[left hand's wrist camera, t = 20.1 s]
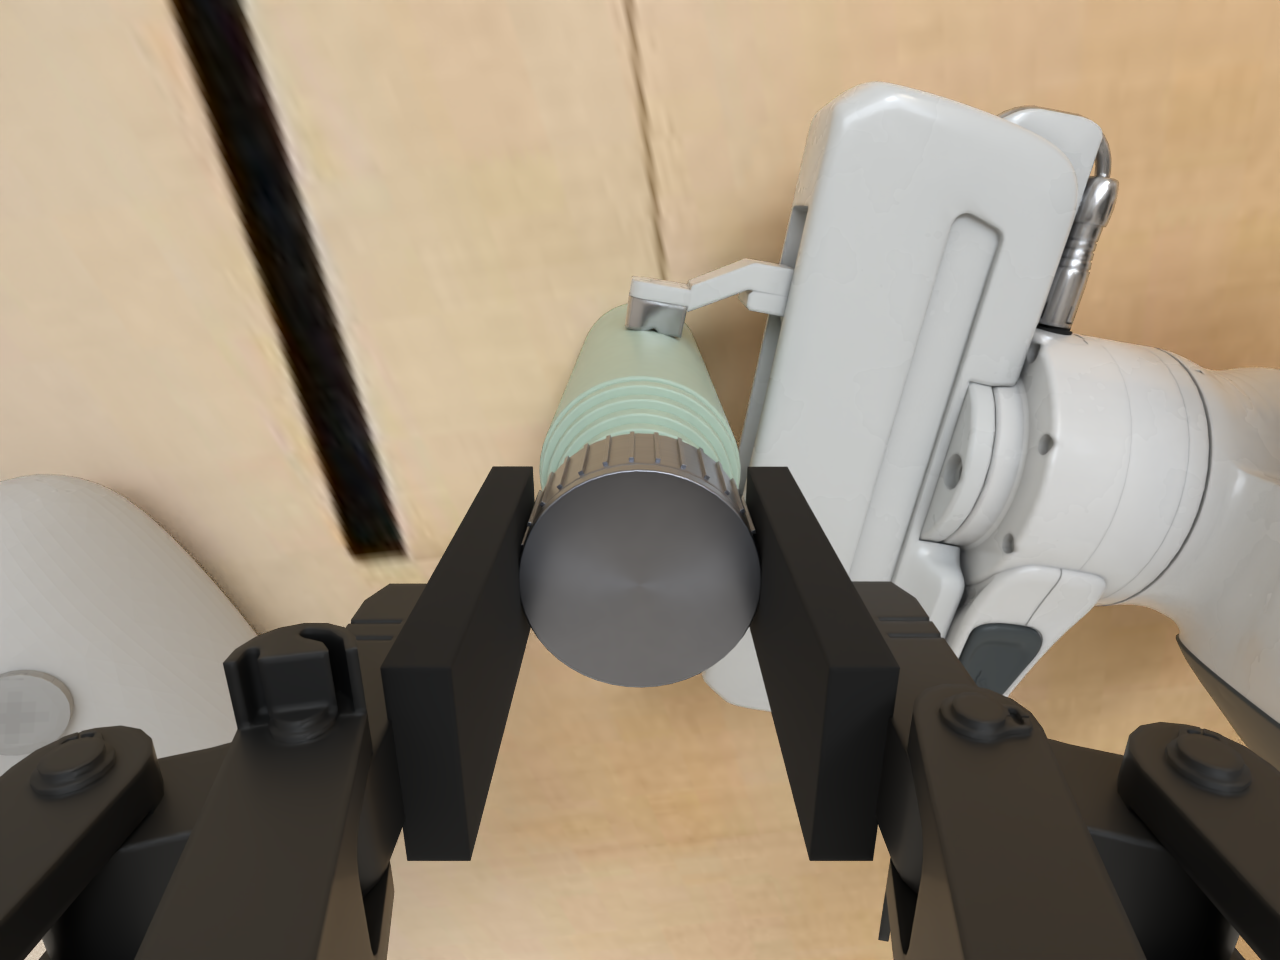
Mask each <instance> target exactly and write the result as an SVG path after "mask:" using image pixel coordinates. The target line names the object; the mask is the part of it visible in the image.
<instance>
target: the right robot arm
mask: <svg viewBox="0 0 1280 960" xmlns="http://www.w3.org/2000/svg"><path fill="white" fill-rule="evenodd" d="M1094 161H1095V176H1090V173H1091V170H1092V167H1093V164H1094ZM1110 173H1111V153H1110V148H1109V144H1108V142H1107V140H1106V138H1105V135H1104V134H1103V132H1102V130H1101V128H1100V126H1098V125H1097V124H1096V123H1094V122H1093V121H1091V120H1090V119H1088V118H1086V117H1084V116H1081V115H1079V114H1075V113H1070V112H1065V111H1059V110H1054V109H1049V108H1044V107H1038V106H1020V107H1015V108H1012V109H1009V110H1006V111H1004V112H1002V113H1000V114H998V115H997V116H996V115H993V114H990V113H988V112H985V111H982V110H980V109H977V108H974V107H972V106H969V105H966V104H963V103H960V102H957V101H954V100H951V99H948V98H945V97H942V96H938V95H935V94H932V93H929V92H925V91H921V90H917V89H913V88H909V87H905V86H901V85H897V84H892V83H887V82H879V81H875V82H867V83H862V84H859V85H856V86H854V87H852V88H850V89H848V90H846V91H844V92H843V93H841V94H840V95H838V96H837V97H835V98H834V99H833V100H831V101H830V102H829V103H827V104H826V105H825V106H824V107H822V108H821V109H820V110H819V111H818V112H817V113H816V114H815V115H814V117H813V119H812V121H811V123H810V127H809V131H808V136H807V140H806V145H805V149H804V154H803V158H802V163H801V167H800V172H799V176H798V181H797V185H796V190H795V194H794V199H793V203H792V208H791V212H790V217H789V221H788V226H787V230H786V235H785V239H784V244H783V248H782V253H781V257H780V262H779V264H777V263H771V262H765V261H759V260H753V259H747V258H744V259H741V260H739V261H736V262H734V263H731V264H729V265H726V266H723V267H721V268H718V269H716V270H713V271H711V272H708V273H705V274H703V275H700V276H698V277H695V278H693V279H690V280H688V283H687V284H683V283H678V282H672V281H666V280H660V279H654V278H648V277H639V276H632V281H631V287H630V293H629V299H628V306H627V313H626V320H625V327H627V328H630V329H633V330H638V331H648V330H650V329H652V328H654V329H655V330H656V331H657V332H658V333H660V334H664V335H668V336H674V337H680V338H681V336H682V331H683V326H684V321H685V316H686V311H688V312H689V311H692V310H694V309H697V308H700V307H703V306H705V305H708V304H711V303H714V302H716V301H719V300H722V299H725V298H727V297H730V296H733V295H736V294H738V293H739V295H738V299H739V300H740V302H741V303H742V304H743V305H744V306H745V307H746V308H747V309H748V310H750V311H756V312H761V313H766V314H768V316H767V321H766V325H765V330H764V334H763V339H762V343H761V348H760V352H759V357H758V361H757V366H756V370H755V375H754V379H753V384H752V388H751V393H750V397H749V402H748V406H747V411H746V415H745V420H744V424H743V429H742V433H741V438H740V442H739V447H738V451H739V457H740V483H739V489H738V490H739V493H740V496H741V498H743V497H744V499H745V502H746V486H747V467H788V469H789V470H790V472H791V474H792V476H793V477H794V479H795V481H796V483H797V485H798V486H799V488H800V490H801V492H802V494H803V495H804V497H805V499H806V501H807V502H808V504H809V506H810V508H811V510H812V511H813V513H814V515H815V517H816V518H817V520H818V522H819V524H820V526H821V527H822V529H823V531H824V533H825V535H826V536H827V538H828V540H829V542H830V543H831V545H832V547H833V549H834V551H835V552H836V554H837V556H838V558H839V560H840V561H841V563H842V565H843V567H844V568H845V570H846V572H847V574H848V576H849V577H850V579H851V581H891V582H893V583H894V584H896V585H897V586H899V587H900V588H902V589H903V590H905V591H906V592H908V593H909V594H911V595H912V596H914V597H915V598H916V599H917V600H918V602H919V603H920V605H921V606H922V607H923V609H924V610H925V612H926V613H927V615H928V616H929V620H930V621H932V622H933V623H934V625H935V626H936V627H937V629H938V630H939V632H940V633H941V638H944V639H945V640H946V642H947V643H948V645H949V646H950V647H951V649H952V650H953V652H954V653H955V655H956V656H957V657H958V659H959V660H960V662H961V663H962V665H963V666H964V667H965V669H966V670H967V672H968V673H969V675H970V676H971V677H972V679H973V680H974V682H975V683H976V685H977V686H978V687H981V688H985V689H990V690H992V691H994V692H997V693H999V694H1001V695H1004V696H1006V697H1008V696H1009V695H1010V693H1011V692H1012V691H1013V690H1014V688H1015V687H1016V686H1017V685H1018V684H1019V682H1020V681H1021V680H1022V679H1023V678H1024V676H1025V675H1026V674H1027V673H1028V672H1029V671H1030V670H1031V668H1032V667H1033V666H1034V665H1035V664H1036V663H1037V662H1038V660H1039V659H1040V658H1041V657H1042V656H1043V655H1044V654H1045V653H1046V652H1047V651H1048V650H1049V649H1050V648H1051V646H1052V645H1053V644H1054V643H1055V642H1056V641H1057V640H1058V639H1059V638H1060V637H1062V636H1063V635H1064V634H1065V633H1066V632H1067V631H1068V630H1069V629H1070V628H1071V627H1072V626H1073V625H1074V624H1076V623H1077V622H1078V621H1079V620H1080V619H1081V618H1082V617H1083V616H1085V615H1086V614H1087V613H1088V612H1089V611H1090V610H1091V609H1092V608H1093V607H1094V606H1110V605H1138V606H1144V607H1147V608H1151V609H1153V610H1156V611H1158V612H1160V613H1161V614H1163V615H1165V616H1167V617H1168V618H1170V619H1172V620H1173V621H1174V622H1175V623H1176V625H1177V626H1178V628H1179V631H1180V632H1179V634H1178V635H1176V640H1177V642H1178V645H1179V647H1180V649H1181V651H1182V653H1183V655H1184V657H1185V659H1186V660H1187V662H1188V664H1189V665H1190V667H1191V668H1192V670H1193V671H1194V673H1195V674H1196V676H1197V677H1198V679H1199V680H1200V682H1201V683H1202V685H1203V686H1204V687H1205V689H1206V690H1207V692H1208V693H1209V694H1210V696H1211V697H1212V699H1213V700H1214V701H1215V703H1216V704H1217V706H1218V707H1219V708H1220V710H1221V711H1222V713H1223V714H1224V715H1225V717H1226V718H1227V720H1228V721H1229V723H1230V724H1231V725H1232V727H1233V728H1234V730H1235V731H1236V733H1237V734H1238V735H1239V737H1240V738H1241V739H1242V741H1243V742H1244V743H1245V744H1246V746H1247V747H1248V748H1249V749H1250V750H1251V751H1253V752H1254V753H1256V754H1257V755H1258V756H1260V757H1261V758H1263V759H1264V760H1266V761H1267V762H1269V763H1270V764H1271V765H1272V766H1274V767H1275V768H1276V769H1277V770H1278V771H1280V369H1276V368H1267V367H1242V368H1234V369H1227V370H1210V369H1206V368H1203V367H1201V366H1199V365H1198V364H1196V363H1194V362H1192V361H1191V360H1189V359H1187V358H1184V357H1182V356H1180V355H1178V354H1175V353H1173V352H1170V351H1167V350H1164V349H1159V348H1155V347H1150V346H1143V345H1137V344H1132V343H1126V342H1120V341H1114V340H1108V339H1103V338H1097V337H1091V336H1085V335H1080V334H1075V333H1072V332H1071V331H1070V329H1071V326H1072V323H1073V320H1074V318H1075V315H1076V312H1077V309H1078V307H1079V304H1080V301H1081V298H1082V295H1083V293H1084V290H1085V287H1086V284H1087V281H1088V277H1089V274H1090V272H1089V270H1090V269H1091V265H1092V263H1091V261H1092V260H1093V256H1094V254H1093V252H1094V251H1095V249H1096V245H1097V244H1096V242H1098V240H1099V237H1100V235H1101V232H1102V230H1103V227H1106V226H1107V224H1108V222H1109V220H1110V218H1111V215H1112V212H1113V210H1114V207H1115V203H1116V199H1117V194H1118V187H1119V182H1118V180H1116V179H1112V178H1110ZM701 673H702V677H703V680H704V681H705V683H706V684H707V685H708V686H709V687H710V688H711V689H712V690H713V691H714V692H716V693H717V694H718V695H719V696H720V697H721V698H722V699H723V700H725V701H726V702H728V703H730V704H733V705H736V706H739V707H744V708H749V709H755V710H762V711H769V712H771V709H770V705H769V701H768V697H767V693H766V689H765V685H764V682H763V678H762V674H761V670H760V666H759V662H758V658H757V654H756V651H755V647H754V643H753V639H752V635H751V631H750V627H749V628H748V630H747V631H746V633H745V635H744V636H743V638H742V639H741V640H740V641H739V643H738V644H737V645H736V646H735V647H734V648H733V649H732V650H731V651H730V652H729V653H728V654H727V655H726V656H725V657H724V658H723V659H721V660H720V661H719V662H717V663H716V664H715V665H713V666H712V667H710V668H708V669H707V670H705V671H703V672H701Z"/></svg>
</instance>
